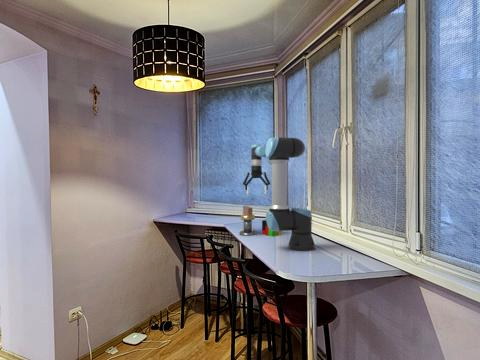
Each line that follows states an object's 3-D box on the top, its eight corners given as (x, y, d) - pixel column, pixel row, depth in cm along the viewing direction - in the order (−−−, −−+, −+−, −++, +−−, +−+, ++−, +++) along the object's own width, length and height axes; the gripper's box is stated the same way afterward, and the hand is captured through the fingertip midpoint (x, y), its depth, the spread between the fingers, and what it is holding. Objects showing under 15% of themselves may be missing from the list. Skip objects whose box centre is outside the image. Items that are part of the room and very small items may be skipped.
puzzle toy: (271, 232, 231) (271, 219, 231) (281, 234, 224) (281, 220, 224) (262, 234, 225) (262, 220, 225) (272, 236, 217) (272, 222, 217)
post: (257, 235, 220) (257, 220, 220) (241, 236, 218) (241, 221, 218) (253, 232, 232) (253, 218, 232) (237, 233, 230) (237, 218, 229)
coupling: (257, 220, 217) (257, 207, 217) (243, 221, 215) (243, 208, 215) (251, 217, 234) (251, 205, 234) (238, 217, 232) (238, 205, 232)
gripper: (271, 165, 235) (271, 193, 235) (238, 165, 230) (239, 194, 231) (274, 165, 227) (274, 194, 228) (240, 165, 223) (240, 195, 223)
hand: (256, 194), depth 229 cm, fingers open, 13 cm apart
